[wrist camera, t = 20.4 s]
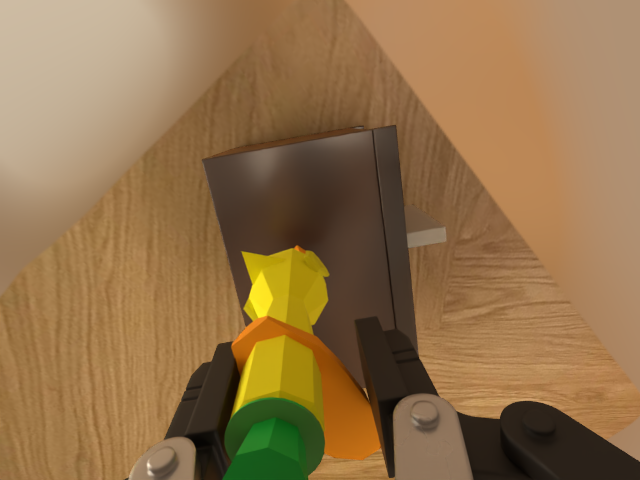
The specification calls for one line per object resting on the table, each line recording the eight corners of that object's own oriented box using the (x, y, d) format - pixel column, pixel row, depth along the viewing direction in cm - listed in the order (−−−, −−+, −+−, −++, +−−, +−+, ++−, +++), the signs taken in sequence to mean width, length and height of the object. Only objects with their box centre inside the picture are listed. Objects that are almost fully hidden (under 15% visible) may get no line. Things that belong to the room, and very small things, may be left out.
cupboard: (362, 125, 28) (396, 125, 19) (385, 305, 33) (421, 380, 23) (233, 148, 28) (200, 159, 18) (275, 325, 33) (266, 408, 23)
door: (401, 139, 28) (443, 144, 20) (410, 232, 30) (451, 271, 22) (355, 147, 28) (379, 156, 20) (368, 240, 30) (393, 281, 22)
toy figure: (370, 294, 19) (471, 559, 7) (317, 334, 19) (336, 636, 8) (283, 197, 17) (239, 348, 6) (228, 244, 18) (88, 466, 6)
